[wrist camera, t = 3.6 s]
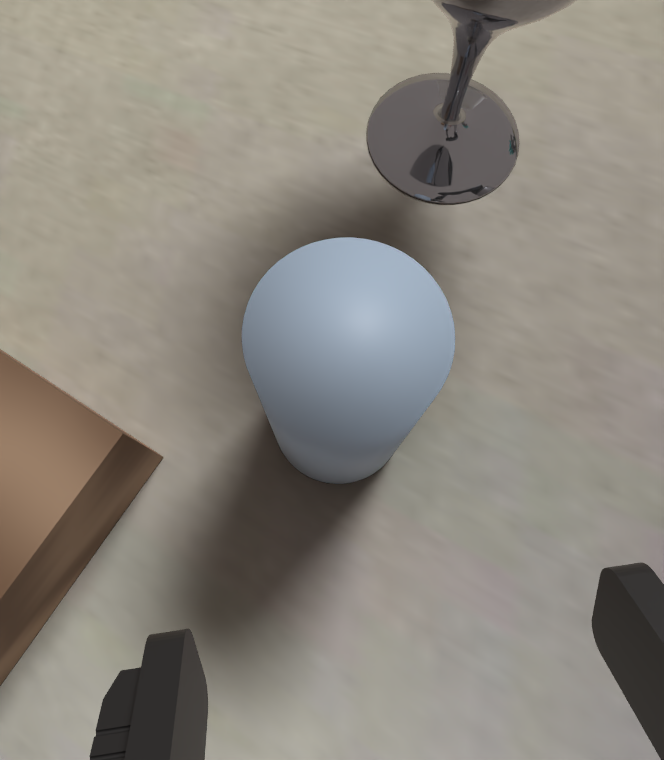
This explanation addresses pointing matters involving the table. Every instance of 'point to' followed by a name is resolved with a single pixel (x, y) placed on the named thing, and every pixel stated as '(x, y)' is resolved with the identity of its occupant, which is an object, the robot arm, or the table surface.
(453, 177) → the wine glass
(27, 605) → the walnut base
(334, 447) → the blue-grey cylinder
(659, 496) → the table surface
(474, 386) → the table surface
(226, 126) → the table surface
